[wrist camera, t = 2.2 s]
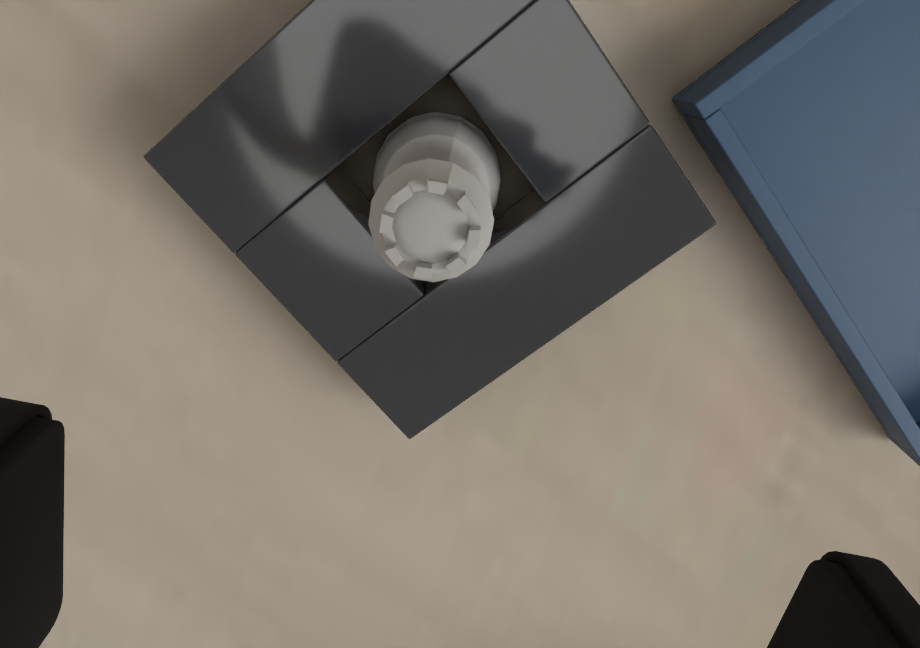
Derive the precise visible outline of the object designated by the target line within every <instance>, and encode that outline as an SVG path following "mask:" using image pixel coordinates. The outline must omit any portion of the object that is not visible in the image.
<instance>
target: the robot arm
mask: <svg viewBox="0 0 920 648" xmlns="http://www.w3.org/2000/svg"><path fill="white" fill-rule="evenodd" d="M64 437H65V434H64V427H63V424H62V423H61V422H59V421H56V420H52V415H51V413H50V410H49V408H47V407H46V406H44V405H39V404H33V403H28V402H22V401H17V400H12V399H6V398H1V397H0V648H39V646H40V645H41V643H42V642H43V640H44V639H45V638H46V636H47V635H48V633H49V632H50V630H51V629H52V627H53V625H54V623H55V621H56V619H57V617H58V614H59V611H60V608H61V604H62V597H63V528H64ZM767 648H920V605H919V604H918V603H917V602H916V600H915V599H914V598H913V597H912V596H911V594H910V593H909V592H908V591H907V590H906V588H905V587H904V586H903V585H902V584H901V582H900V581H899V580H898V579H897V577H896V576H895V575H894V574H893V573H892V571H891V570H890V569H889V568H888V567H887V566H886V565H885V564H884V563H883V562H882V561H880V560H877V559H874V558H869V557H864V556H859V555H853V554H848V553H842V552H837V551H833V552H828V553H826V554H825V555H824V556H822V558H821V559H820V560H815V561H813V562H812V563H810V565H809V566H808V568H807V569H806V571H805V573H804V575H803V577H802V579H801V581H800V583H799V585H798V587H797V589H796V591H795V593H794V595H793V597H792V599H791V601H790V603H789V605H788V607H787V609H786V611H785V613H784V615H783V617H782V619H781V621H780V623H779V625H778V627H777V629H776V631H775V633H774V635H773V637H772V639H771V641H770V643H769V645H768V647H767Z"/></svg>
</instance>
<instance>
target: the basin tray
mask: <svg viewBox="0 0 920 648" xmlns="http://www.w3.org/2000/svg"><path fill="white" fill-rule="evenodd" d="M672 101H673V102H674V104H675V105H676V107H677V108H678V110H679V111H680V113H681V115H682V116H683V118H684V119H685V121H686V122H687V124H688V125H689V127H690V129H691V130H692V132H693V133H694V135H695V136H696V138H697V139H698V141H699V143H700V144H701V146H702V147H703V149H704V150H705V152H706V153H707V155H708V157H709V158H710V160H711V161H712V163H713V164H714V166H715V167H716V169H717V170H718V172H719V174H720V175H721V177H722V178H723V180H724V181H725V183H726V184H727V186H728V188H729V189H730V191H731V192H732V194H733V195H734V197H735V198H736V200H737V202H738V203H739V205H740V206H741V208H742V209H743V211H744V212H745V214H746V216H747V217H748V219H749V220H750V222H751V223H752V225H753V226H754V228H755V230H756V231H757V233H758V234H759V236H760V237H761V239H762V240H763V242H764V243H765V245H766V247H767V248H768V250H769V251H770V253H771V254H772V256H773V257H774V259H775V261H776V262H777V264H778V265H779V267H780V268H781V270H782V271H783V273H784V275H785V276H786V278H787V279H788V281H789V282H790V284H791V285H792V287H793V289H794V290H795V292H796V293H797V295H798V296H799V298H800V299H801V301H802V303H803V304H804V306H805V307H806V309H807V310H808V312H809V313H810V315H811V316H812V318H813V320H814V321H815V323H816V324H817V326H818V327H819V329H820V330H821V332H822V334H823V335H824V337H825V338H826V340H827V341H828V343H829V344H830V346H831V348H832V349H833V351H834V352H835V354H836V355H837V357H838V358H839V360H840V362H841V363H842V365H843V366H844V368H845V369H846V371H847V372H848V374H849V376H850V377H851V379H852V380H853V382H854V383H855V385H856V386H857V388H858V390H859V391H860V393H861V394H862V396H863V397H864V399H865V400H866V402H867V403H868V405H869V407H870V408H871V410H872V411H873V413H874V414H875V416H876V417H877V419H878V421H879V422H880V424H881V425H882V427H883V428H884V430H885V431H886V433H887V435H888V436H889V438H890V439H891V441H892V442H894V443H895V444H896V445H897V446H898V447H899V448H900V449H901V450H903V451H904V452H905V453H906V454H907V455H908V456H909V457H910V458H911V459H913V460H914V461H915V462H916V463H917V464H918V465H919V466H920V0H801V1H799V2H798V3H797V4H795V5H794V6H793V7H791V8H790V9H789V10H788V11H786V12H785V13H784V14H782V15H781V16H780V17H778V18H777V19H776V20H774V21H773V22H772V23H770V24H769V25H768V26H767V27H765V28H764V29H763V30H761V31H760V32H759V33H757V34H756V35H755V36H753V37H752V38H751V39H749V40H748V41H747V42H746V43H744V44H743V45H742V46H740V47H739V48H738V49H736V50H735V51H734V52H732V53H731V54H730V55H728V56H727V57H726V58H724V59H723V60H722V61H721V62H719V63H718V64H717V65H715V66H714V67H713V68H711V69H710V70H709V71H707V72H706V73H705V74H703V75H702V76H701V77H700V78H698V79H697V80H696V81H694V82H693V83H692V84H690V85H689V86H688V87H686V88H685V89H684V90H682V91H681V92H680V93H679V94H677V95H676V96H675V97H673V98H672Z"/></svg>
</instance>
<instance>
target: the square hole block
mask: <svg viewBox="0 0 920 648" xmlns="http://www.w3.org/2000/svg"><path fill="white" fill-rule="evenodd" d="M448 73H449V76H450V77H451V78H452V80H453V81H454V82H455V84H456V85H457V87H458V88H459V89H460V91H461V92H462V93H463V95H464V96H465V97H466V99H467V100H468V101H469V103H470V104H471V105H472V107H473V108H474V109H475V111H476V112H477V113H478V115H479V116H480V117H481V119H482V120H483V121H484V123H485V124H486V125H487V127H488V128H489V129H490V131H491V132H492V133H493V135H494V136H495V137H496V139H497V140H498V141H499V143H500V144H501V145H502V147H503V148H504V149H505V151H506V152H507V153H508V155H509V156H510V157H511V159H512V160H513V161H514V163H515V164H516V165H517V167H518V168H519V169H520V171H521V172H522V173H523V175H524V176H525V177H526V179H527V180H528V181H529V183H530V184H531V185H532V187H533V188H534V189H535V190H533V191H532V192H531V193H529V194H528V195H527V196H525V197H524V198H523V199H522V200H520V201H519V202H518V203H516V204H515V205H514V206H512V207H511V208H510V209H509V210H507V211H506V212H505V213H503V214H502V215H501V216H499V217H498V218H497V219H495V220H494V224H493V230H492V235H491V240H490V244H489V246H488V247H487V249H486V250H485V252H484V253H483V255H482V257H481V258H480V260H479V261H478V263H477V264H476V265H474V266H473V267H471V268H470V269H468V270H467V271H465V272H464V273H462V274H461V275H459V276H458V277H455V278H451V279H446V280H442V281H437V282H429V281H423V280H417V279H411V278H409V277H407V276H405V275H404V274H402V273H400V272H399V271H397V270H395V269H393V268H392V267H390V266H389V265H388V263H387V262H386V261H385V260H384V258H383V257H382V256H381V254H380V253H379V252H378V251H377V249H376V248H375V246H374V242H373V239H372V235H371V232H370V228H369V215H370V207H371V204H370V203H369V201H368V200H367V199H366V198H365V197H364V196H363V194H362V193H361V192H360V191H359V190H358V188H357V187H356V186H355V185H354V184H353V182H352V181H351V180H350V179H349V178H348V177H347V175H346V174H345V173H344V172H343V171H342V169H341V168H340V167H339V165H340V164H341V163H342V162H344V161H345V160H346V159H347V158H348V157H350V156H351V155H352V154H353V153H354V152H356V151H357V150H358V149H359V148H360V147H361V146H363V145H364V144H365V143H366V142H367V141H369V140H370V139H371V138H372V137H373V136H375V135H376V134H377V133H378V132H379V131H380V130H382V129H383V128H384V127H385V126H386V125H388V124H389V123H390V122H391V121H392V120H394V119H395V118H396V117H397V116H398V115H399V114H401V113H402V112H403V111H404V110H405V109H407V108H408V107H409V106H410V105H411V104H413V103H414V102H415V101H416V100H417V99H418V98H420V97H421V96H422V95H423V94H424V93H426V92H427V91H428V90H429V89H430V88H432V87H433V86H434V85H435V84H436V83H437V82H439V81H440V80H441V79H442V78H443V77H445V76H446V75H447V74H448ZM649 124H650V123H649V120H648V119H647V117H646V116H645V114H644V113H643V111H642V110H641V108H640V107H639V105H638V104H637V102H636V101H635V99H634V98H633V96H632V95H631V93H630V92H629V90H628V89H627V87H626V86H625V84H624V83H623V81H622V80H621V78H620V77H619V75H618V74H617V72H616V71H615V69H614V68H613V66H612V65H611V63H610V62H609V60H608V59H607V57H606V56H605V54H604V53H603V51H602V50H601V48H600V47H599V45H598V43H597V42H596V40H595V39H594V37H593V36H592V34H591V33H590V31H589V30H588V28H587V27H586V25H585V24H584V22H583V21H582V19H581V18H580V16H579V15H578V13H577V12H576V10H575V9H574V7H573V6H572V4H571V3H570V1H569V0H312V1H310V2H309V3H308V4H307V5H306V6H305V7H304V8H303V9H302V10H301V11H300V12H299V13H297V14H296V15H295V16H294V17H293V18H292V19H291V20H290V21H289V22H288V23H287V24H286V25H284V26H283V27H282V28H281V29H280V30H279V31H278V32H277V33H276V34H275V35H274V36H273V37H271V38H270V39H269V40H268V41H267V42H266V43H265V44H264V45H263V46H262V47H261V48H260V49H259V50H257V51H256V52H255V53H254V54H253V55H252V56H251V57H250V58H249V59H248V60H247V61H246V62H244V63H243V64H242V65H241V66H240V67H239V68H238V69H237V70H236V71H235V72H234V73H233V74H231V75H230V76H229V77H228V78H227V79H226V80H225V81H224V82H223V83H222V84H221V85H220V86H218V87H217V88H216V89H215V90H214V91H213V92H212V93H211V94H210V95H209V96H208V97H207V98H206V99H204V100H203V101H202V102H201V103H200V104H199V105H198V106H197V107H196V108H195V109H194V110H193V111H191V112H190V113H189V114H188V115H187V116H186V117H185V118H184V119H183V120H182V121H181V122H180V123H178V124H177V125H176V126H175V127H174V128H173V129H172V130H171V131H170V132H169V133H168V134H167V135H165V136H164V137H163V138H162V139H161V140H160V141H159V142H158V143H157V144H156V145H155V146H154V147H153V148H151V149H150V150H149V151H148V152H147V153H146V154H145V155H144V158H145V159H146V161H147V162H148V163H149V164H150V165H151V166H152V167H153V168H154V169H155V170H156V171H157V172H158V173H159V174H160V175H161V176H162V178H163V179H164V180H165V181H166V182H167V183H168V184H169V185H170V186H171V187H172V188H173V189H174V190H175V191H176V192H177V193H178V194H179V196H180V197H181V198H182V199H183V200H184V201H185V202H186V203H187V204H188V205H189V206H190V207H191V208H192V209H193V210H194V211H195V213H196V214H197V215H198V216H199V217H200V218H201V219H202V220H203V221H204V222H205V223H206V224H207V225H208V226H209V227H210V228H211V230H212V231H213V232H214V233H215V234H216V235H217V236H218V237H219V238H220V239H221V240H222V241H223V242H224V243H225V244H226V245H227V246H228V248H229V249H230V250H231V251H232V252H234V253H235V252H236V256H237V257H238V258H239V259H240V260H241V261H242V262H243V263H244V264H245V265H246V267H247V268H248V269H249V270H250V271H251V272H252V273H253V274H254V275H255V276H256V277H257V278H258V279H259V280H260V281H261V282H262V284H263V285H264V286H265V287H266V288H267V289H268V290H269V291H270V292H271V293H272V294H273V295H274V296H275V297H276V298H277V299H278V301H279V302H280V303H281V304H282V305H283V306H284V307H285V308H286V309H287V310H288V311H289V312H290V313H291V314H292V315H293V316H294V317H295V319H296V320H297V321H298V322H299V323H300V324H301V325H302V326H303V327H304V328H305V329H306V330H307V331H308V332H309V333H310V334H311V336H312V337H313V338H314V339H315V340H316V341H317V342H318V343H319V344H320V345H321V346H322V347H323V348H324V349H325V350H326V351H327V353H328V354H329V355H330V356H331V357H332V358H333V359H334V360H335V361H338V364H339V365H340V366H341V367H342V368H343V369H344V370H345V372H346V373H347V374H348V375H349V376H350V377H351V378H352V379H353V380H354V381H355V382H356V383H357V384H358V385H359V386H360V387H361V389H362V390H363V391H364V392H365V393H366V394H367V395H368V396H369V397H370V398H371V399H372V400H373V401H374V402H375V403H376V404H377V406H378V407H379V408H380V409H381V410H382V411H383V412H384V413H385V414H386V415H387V416H388V417H389V418H390V419H391V420H392V421H393V422H394V424H395V425H396V426H397V427H398V428H399V429H400V430H401V431H402V432H403V433H404V434H405V435H406V436H407V437H408V438H409V439H411V438H412V437H414V436H415V435H416V434H418V433H419V432H421V431H422V430H424V429H425V428H426V427H428V426H429V425H431V424H432V423H434V422H435V421H436V420H438V419H439V418H441V417H442V416H443V415H445V414H446V413H448V412H449V411H451V410H452V409H453V408H455V407H456V406H458V405H459V404H461V403H462V402H463V401H465V400H466V399H468V398H469V397H471V396H472V395H473V394H475V393H476V392H478V391H479V390H481V389H482V388H483V387H485V386H486V385H488V384H489V383H490V382H492V381H493V380H495V379H496V378H498V377H499V376H500V375H502V374H503V373H505V372H506V371H508V370H509V369H510V368H512V367H513V366H515V365H516V364H518V363H519V362H520V361H522V360H523V359H525V358H526V357H528V356H529V355H530V354H532V353H533V352H535V351H536V350H537V349H539V348H540V347H542V346H543V345H545V344H546V343H547V342H549V341H550V340H552V339H553V338H555V337H556V336H557V335H559V334H560V333H562V332H563V331H565V330H566V329H567V328H569V327H570V326H572V325H573V324H575V323H576V322H577V321H579V320H580V319H582V318H583V317H585V316H586V315H587V314H589V313H590V312H592V311H593V310H594V309H596V308H597V307H599V306H600V305H602V304H603V303H604V302H606V301H607V300H609V299H610V298H612V297H613V296H614V295H616V294H617V293H619V292H620V291H622V290H623V289H624V288H626V287H627V286H629V285H630V284H632V283H633V282H634V281H636V280H637V279H639V278H640V277H641V276H643V275H644V274H646V273H647V272H649V271H650V270H651V269H653V268H654V267H656V266H657V265H659V264H660V263H661V262H663V261H664V260H666V259H667V258H669V257H670V256H671V255H673V254H674V253H676V252H677V251H679V250H680V249H681V248H683V247H684V246H686V245H687V244H688V243H690V242H691V241H693V240H694V239H696V238H697V237H698V236H700V235H701V234H703V233H704V232H706V231H707V230H708V229H710V228H711V227H713V226H714V225H715V224H716V222H715V220H714V219H713V217H712V216H711V214H710V213H709V211H708V210H707V208H706V207H705V205H704V204H703V202H702V200H701V199H700V197H699V196H698V194H697V193H696V191H695V190H694V188H693V187H692V185H691V184H690V182H689V181H688V179H687V178H686V176H685V175H684V173H683V172H682V170H681V169H680V167H679V166H678V164H677V163H676V161H675V160H674V158H673V157H672V155H671V154H670V152H669V151H668V149H667V148H666V146H665V145H664V143H663V142H662V140H661V139H660V137H659V136H658V134H657V133H656V131H655V130H654V128H653V127H652V126H651V125H649Z"/></svg>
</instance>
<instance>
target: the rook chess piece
mask: <svg viewBox="0 0 920 648" xmlns="http://www.w3.org/2000/svg"><path fill="white" fill-rule="evenodd" d="M500 184H501V172H500V167H499V162H498V157H497V152H496V150H495V149H494V147H493V146H492V145H491V143H490V142H489V140H488V139H487V137H486V136H485V134H484V133H483V131H482V130H481V129H479V128H477V127H476V126H474V125H473V124H471V123H470V122H468V121H467V120H465V119H464V118H462V117H461V116H456V115H450V114H445V113H439V112H431V113H427V114H423V115H419V116H415V117H411V118H409V119H407V120H406V121H405V122H403V123H402V124H401V125H399V126H398V127H397V128H395V129H394V130H393V131H391V132H390V133H389V134H388V136H387V138H386V139H385V141H384V143H383V145H382V146H381V148H380V150H379V152H378V153H377V155H376V161H375V169H374V177H373V189H374V192H375V195H374V196H373V198H372V200H371V207H370V215H369V228H370V232H371V235H372V239H373V242H374V246H375V248H376V249H377V251H378V252H379V253H380V254H381V256H382V257H383V258H384V260H385V261H386V262H387V263H388V265H389V266H390V267H392V268H393V269H395V270H397V271H399V272H400V273H402V274H404V275H405V276H407V277H409V278H411V279H417V280H423V281H429V282H437V281H442V280H446V279H451V278H455V277H458V276H459V275H461V274H462V273H464V272H465V271H467V270H468V269H470V268H471V267H473V266H474V265H476V264H477V263H478V261H479V260H480V258H481V257H482V255H483V253H484V252H485V250H486V249H487V247H488V246H489V244H490V240H491V235H492V230H493V224H494V217H493V210H494V209H495V207H496V205H497V200H498V194H499V189H500Z"/></svg>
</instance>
